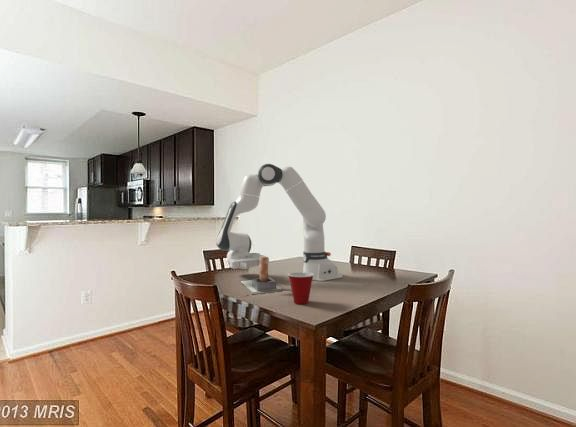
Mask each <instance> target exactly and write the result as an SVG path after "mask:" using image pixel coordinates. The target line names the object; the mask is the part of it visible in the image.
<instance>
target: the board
mask: <svg viewBox="0 0 576 427" xmlns="http://www.w3.org/2000/svg"><path fill="white" fill-rule="evenodd" d="M240 282H241V283H242V284H243V286H244V287H246V288H247V289H248V290H249V291H250V292H251V294H252V295H251V296H258V294H260V295H266V293H268V294H274V293H275V292H277V293H282V292H283V291H282V290H283V289H282V287H280V286H279V285H277V281H276V280H275V279H274V278H272V277H270V276H268V281H267V282H260V277H259V278H258V277H257V278H252V279H250V280H241V281H240ZM281 289H282V290H281ZM274 290H275V291H274ZM267 291H268V292H267ZM256 292H257V293H256Z"/></svg>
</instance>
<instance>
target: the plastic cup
mask: <svg viewBox="0 0 576 427" xmlns="http://www.w3.org/2000/svg"><path fill="white" fill-rule="evenodd" d="M287 276H288V277H289V278H288V280H289V282H290V288H291V292H292V293H291V295H292V298H293V299H292V300H293V302H294V304H295V305H307V304H308V303H309V301H310V295H311V288H312V282H313V280H312V279H313V276H314V274H313V273H303V271H302V272H289V273H287Z"/></svg>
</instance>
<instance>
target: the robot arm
mask: <svg viewBox="0 0 576 427" xmlns="http://www.w3.org/2000/svg"><path fill="white" fill-rule="evenodd" d="M257 172H258V173H257V174H250V173H249V174H246V175H245V176H244V178H243V179H242V182H241V185H240V189H239V192H238V196H237V198H236V199H235V201H233V202H231V203H230V204H229V207H228V210H227V211H226V215H225V218H224V221H223V223H222V225H221V228H220V231H219V233H218V234H217V237H216V240H215V244H216V246H217V248H218V249H219V250H220V251H227V254H226V259H227V262H226V264H227V265H228V266H229V267H230V268H231V269H242V270H244V271H245V270H249V269H251V268H254V267H259V258H260V257H267V256H266V255H262V254H261V253H259V252H251V249H252V245H253V244H252V240H251V237H250V236H249V235H248V234H247V233H240V232H233V231H231V230H232V227H233V224H234V222H235V219H236V218H237V217H238V216H239V215H241V214H244V213H248V212H251V211H253V210H254V209H256V208H257V207H258V205H259V202H260V196H261V191H262V188H264V187H271V186H273V185H275V184H280V186H281V187H282V188H283V189H284V191H285V193H286V194H287V196H288V197H289V199H290V200H291V202H292V203H293V205H294V206H295V207H296V209H297V210H298V212H299V213H300V215H301V216H302V227H303V229H302V230H303V252H302V253H303V257H302V258H303V268H302V273H313V274H314V276H313V279H312V281H318V282H323V281H330V280H336V279H342V278H343V277H344V276H343V274H342V273H339V268H338V265H337V264H336V263H335V262H333V261H332V260H331V259H330V258H328V257H331V256H332V254H331V252H327V251H325V232H324V223H325V221H326V219H327V214H326V211H325V210H324V208H323V206H322V205H321V204H320V203H319V201H318V200H317V199H316V197H315V196H314V194H313V193H312V192H311V190H310V188H309V187H308V186H307V184H306V183H305V182H304V180H303V178H302V177H301V175H300V174H299V173H298V172H297V171H296V170H295V169H294V167H291V166H286V167H282V168H280V167H278V166H276V165H274V164H271V163H265V164H263V165H261V166H260V168H259V169H258V171H257ZM269 263H270V258H269V257H268V265H269Z"/></svg>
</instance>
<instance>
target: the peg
mask: <svg viewBox="0 0 576 427" xmlns="http://www.w3.org/2000/svg"><path fill="white" fill-rule="evenodd" d="M268 258H269V257H268V256H266V257H260V258H259V266H258V268H259V278H260V282H267V281H268V277H269V264H268Z"/></svg>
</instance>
